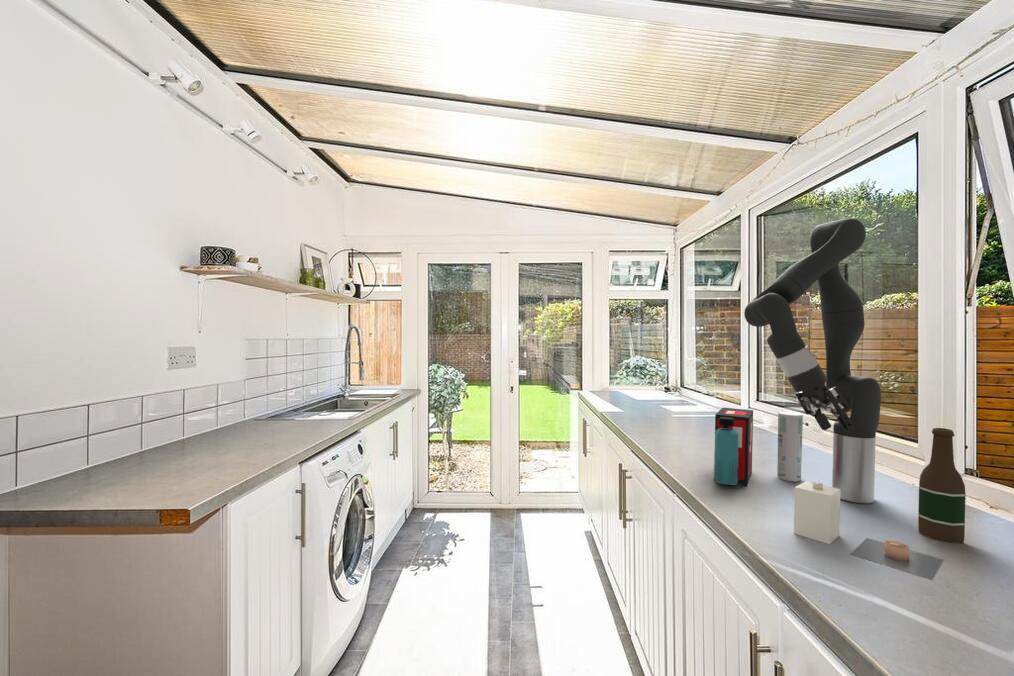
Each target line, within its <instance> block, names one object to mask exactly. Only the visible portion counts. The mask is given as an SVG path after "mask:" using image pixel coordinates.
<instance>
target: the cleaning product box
mask: <svg viewBox="0 0 1014 676" xmlns="http://www.w3.org/2000/svg"><path fill="white" fill-rule="evenodd" d="M714 416H715V417H714V418H715V419H714V432H715V431H716V430H717V429H719V428H729V429H733V430H735V431H736V432H737V433H738V451H739V452H738V456H739V457H738V460H739V461H738V462H739V463H738V474H739V477H738V483H737V484H735V485H736V486H743V487H748V486H749V482H750V479H751V476H752V474H753V435H754V434H753V433H754V432H753V431H754V409H744V408H743V409H742V408H735V407H722V408H720V409H719V410H718V411H717V412H716V413H715V415H714ZM720 417H729V418H733V419H734V426H723V425H719V418H720ZM713 481H714V482H716V481H715V479H714V478H713Z"/></svg>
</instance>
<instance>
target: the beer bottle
mask: <svg viewBox="0 0 1014 676" xmlns="http://www.w3.org/2000/svg"><path fill="white" fill-rule="evenodd" d="M931 433H932V435H933V436H932V443H931V446H932V447H931V456H930V459H929V464H928V465H926V466H925V467H924V468H923V470H922V471H921V473H920V475H919V482H918V509H917V511H918V512H917V513H918V514H917V515H918V517H917V526H918V527H917V528H918V533H919V534H921V535H922V536H924V537H927V538H929V539H932V540H936V541H940V542H945V543H949V544H963V545H964V544H965V543H964V542H965V535H966V534H965V531H966V527H965V526H966V485H965V482H964V481H963V477H962V475H961V474H960V472H959V471H958V470H957V468H956V466H955V460H954V458H955V457H954V441H953V439H954V438H953V437H955V433H954V430H952V429H949V428H943V427H934V428H932V430H931Z"/></svg>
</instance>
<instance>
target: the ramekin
mask: <svg viewBox="0 0 1014 676" xmlns="http://www.w3.org/2000/svg"><path fill="white" fill-rule="evenodd" d="M883 542H884V555H885V556H886V557H888V558H891V559H894V560H897V561H904V562H906V561H909V550H911V549H910V546H909V545H908V544H906V543H904V542H901V541H896V540H891V539H889V540H888V539H887V540H884V541H883Z"/></svg>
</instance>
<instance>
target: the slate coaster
mask: <svg viewBox="0 0 1014 676" xmlns="http://www.w3.org/2000/svg"><path fill="white" fill-rule="evenodd" d="M849 555H850V556H853V557H857V558H860V559H863V560H867V561H869V562H873V563H877V564H879V565H883V566H885V567H889V568H891V569H894V570H898V571H902V572H905V573H908V574H911V575H914V576H918V577H921V578H924V579H926V580H927V579H928V580H930V581H933V579H934V577H935V576H936V574H937V572H938V571H939V569H940V567H941V565H942V564H943V562H944V559H943V558H940V557H935V556H932V555H930V554H929V555H928V554H925V553H922V552H918V551H915V550H911V549H910V550H909V561H906V562H904V561H897V560H894V559H891V558H888V557H886V556H885V555H884V541H879V540H876V539H873V538H869V537H866V538H864V540H863V541H862V542H861V543H860V544H859V545H858V546H857V547H855V549H853V550H852V552H850V554H849Z"/></svg>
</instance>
